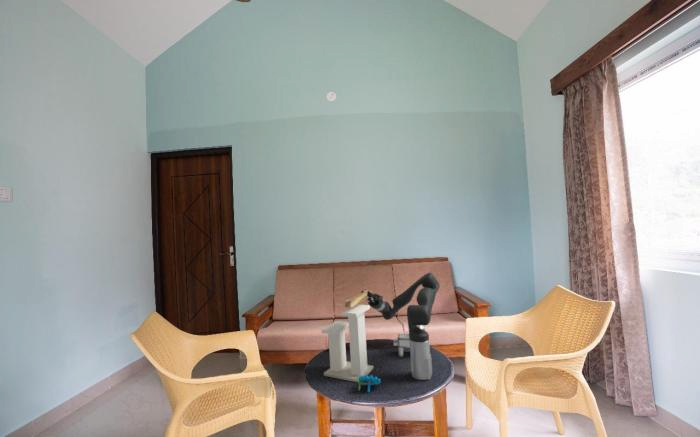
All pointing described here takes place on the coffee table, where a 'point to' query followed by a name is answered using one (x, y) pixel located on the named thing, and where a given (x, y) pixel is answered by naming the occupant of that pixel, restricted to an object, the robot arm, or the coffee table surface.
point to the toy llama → (404, 341)
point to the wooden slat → (356, 299)
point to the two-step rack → (357, 345)
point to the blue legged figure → (367, 381)
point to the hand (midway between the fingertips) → (365, 292)
